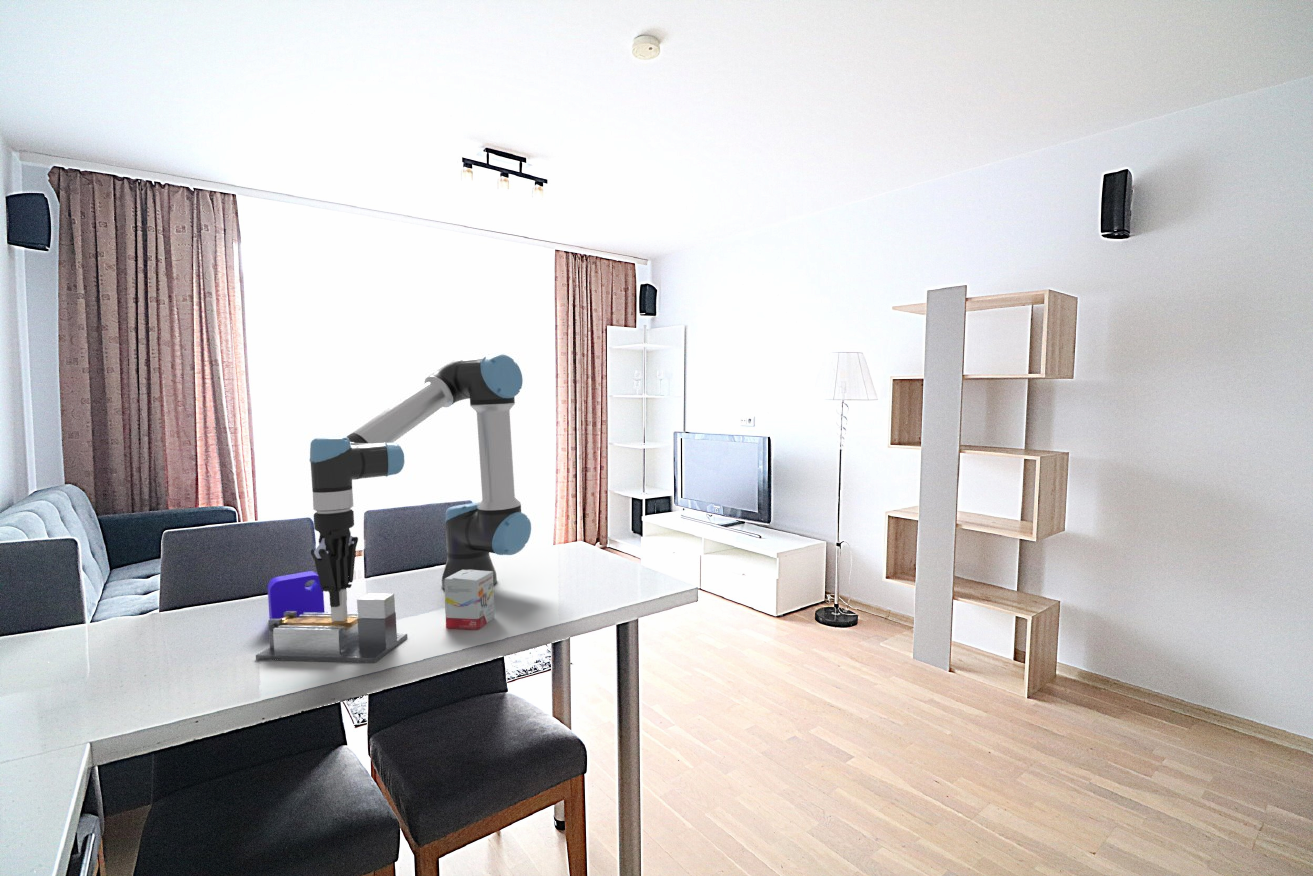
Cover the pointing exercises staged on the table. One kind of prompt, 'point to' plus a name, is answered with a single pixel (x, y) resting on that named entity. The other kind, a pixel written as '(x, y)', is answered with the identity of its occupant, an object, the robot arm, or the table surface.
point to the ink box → (469, 599)
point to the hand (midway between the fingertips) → (339, 619)
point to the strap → (318, 622)
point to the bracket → (295, 595)
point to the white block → (376, 606)
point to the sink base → (359, 652)
